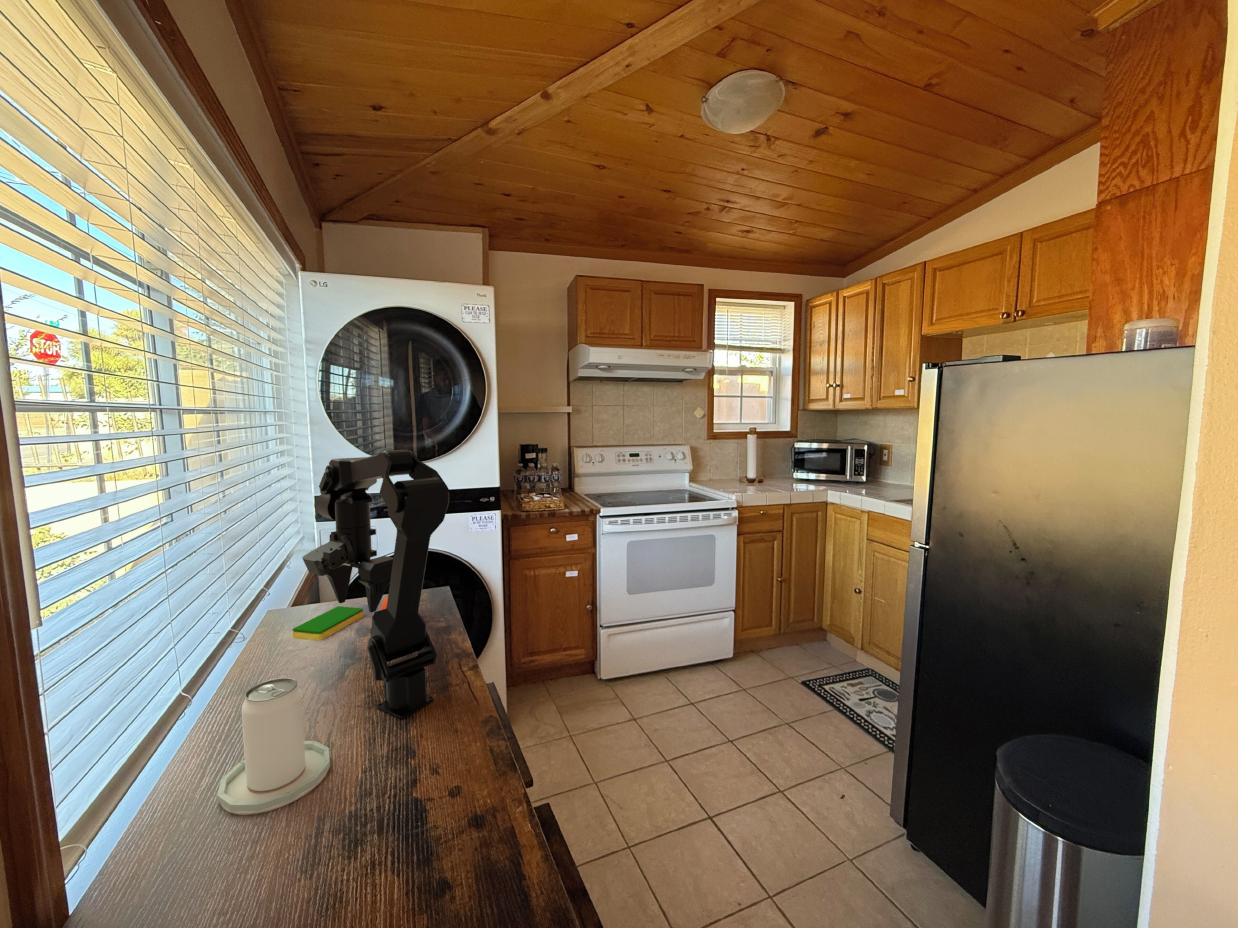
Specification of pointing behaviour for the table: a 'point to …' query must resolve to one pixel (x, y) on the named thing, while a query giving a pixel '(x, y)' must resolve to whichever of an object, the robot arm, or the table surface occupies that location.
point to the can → (273, 734)
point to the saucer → (247, 801)
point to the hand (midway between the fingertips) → (357, 606)
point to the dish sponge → (327, 623)
